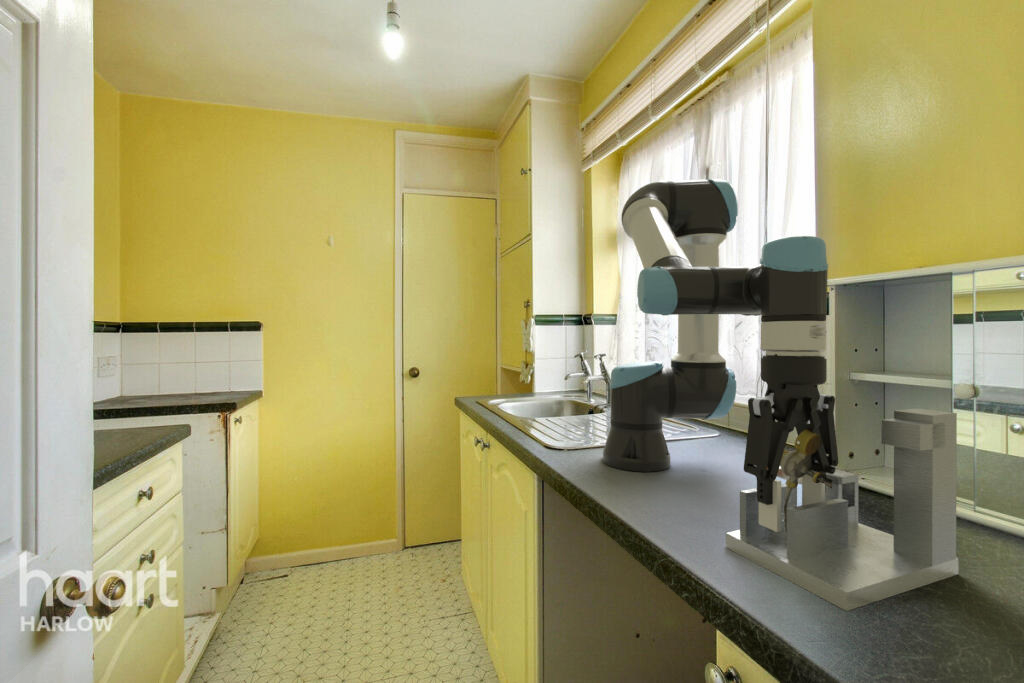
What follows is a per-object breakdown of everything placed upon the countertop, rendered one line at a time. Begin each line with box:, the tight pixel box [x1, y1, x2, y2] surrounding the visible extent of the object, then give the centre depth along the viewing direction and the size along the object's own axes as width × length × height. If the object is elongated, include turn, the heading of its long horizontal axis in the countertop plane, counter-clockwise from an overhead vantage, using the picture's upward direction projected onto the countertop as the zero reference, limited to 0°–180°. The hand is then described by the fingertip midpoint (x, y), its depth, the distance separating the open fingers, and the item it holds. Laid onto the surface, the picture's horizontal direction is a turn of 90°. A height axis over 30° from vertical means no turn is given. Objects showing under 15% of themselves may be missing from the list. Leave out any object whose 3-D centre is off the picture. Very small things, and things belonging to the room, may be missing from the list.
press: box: [725, 408, 959, 612], centre depth 59 cm, size 16×21×20 cm
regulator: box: [779, 430, 833, 533], centre depth 61 cm, size 8×4×15 cm, turn 23°
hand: (792, 522), depth 61 cm, fingers open, 8 cm apart
